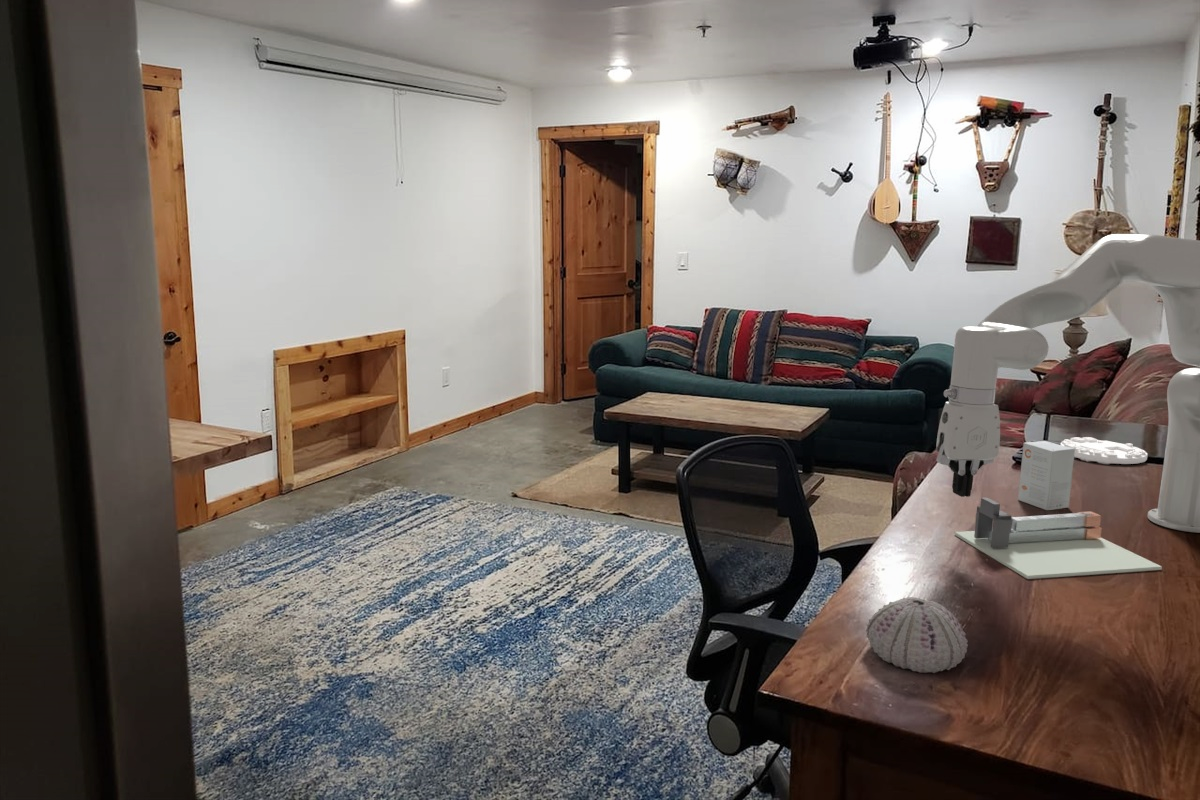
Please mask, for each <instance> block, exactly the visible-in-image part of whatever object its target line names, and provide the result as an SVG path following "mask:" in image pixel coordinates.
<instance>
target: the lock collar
mask: <svg viewBox="0 0 1200 800" xmlns="http://www.w3.org/2000/svg"><path fill="white" fill-rule="evenodd" d="M980 498H981V499H980V505H979V506H977V507H976V514H975V524H974V525H975V526H974V531H975V534H974V537H975V538H976V539H980V538H988V536H989V530H992V539H991V547H992V548H1008V544H1009V534H1010V525H1011V517H1012V515H1010V514H1009V513H1007V512H1005V511H1003V510H1001V509H1000V508H1001V503H999V502H997V501H995V500H993V499H991V498H989V497H980Z"/></svg>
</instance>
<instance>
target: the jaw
mask: <svg viewBox="0 0 1200 800" xmlns="http://www.w3.org/2000/svg"><path fill="white" fill-rule="evenodd" d="M1011 518H1013V519H1012V529H1013V530H1015V531H1022V530H1036V529H1050V528H1064V527H1079V526H1086V527H1090V526H1098V527H1101V521H1102V515H1100V514H1099V513H1096V512H1094V511H1080V512H1079V511H1078V512H1076V513H1075V512H1073V513H1058V514H1057V513H1056V514H1046V515H1045V514H1043V515H1030V516H1027V515H1026V516H1011Z"/></svg>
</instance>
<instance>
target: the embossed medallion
mask: <svg viewBox="0 0 1200 800" xmlns="http://www.w3.org/2000/svg"><path fill="white" fill-rule="evenodd" d="M1059 445H1062V446H1066V447H1069V448H1073V449H1075V453H1074V459H1076V458H1078V459H1080V460H1081V461H1085V462H1096V463H1097V464H1103V465H1110V464H1116V465H1119V464H1121V465H1131V464H1132V465H1133V464H1140V463H1141V464H1142V463H1145V462H1146V461H1147V460H1148V454H1149V453H1148V452H1147V451H1146V450H1144V449H1142V448H1139V447H1138V446H1133V445H1134V444H1133V443H1128V442H1126V443H1120V442H1116V441H1115V442H1114V441H1110V440H1107V439H1106V440H1100V439H1097V438H1095V437H1091V436H1090V437H1089V436H1085V437H1084V436H1083V437H1079V436H1078V437H1077V436H1074V437H1070V439H1066V438H1064V440H1061V441H1060V444H1059Z"/></svg>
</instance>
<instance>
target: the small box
mask: <svg viewBox="0 0 1200 800" xmlns="http://www.w3.org/2000/svg"><path fill="white" fill-rule="evenodd" d="M1022 446H1023V448H1022V457H1021V465H1020V475H1019V487H1018V494H1017V495H1018V496H1017V500H1018V501H1020V502H1023V503H1026V504H1029V505H1031V506H1034V507H1037V508H1040V509H1042V510H1045V511H1054V510H1062V509H1066V508H1067V509H1068V508H1069V507H1070V500H1071V499H1070V498H1071V490H1072V479H1073V471H1074V462H1075V457H1074V453H1075V449H1073V448H1069V447H1066V446H1062V445H1060V444H1058V443H1053V442H1051V441H1047V440H1040V441H1038V440H1037V441H1027V442H1026V441H1025V442H1023V445H1022Z"/></svg>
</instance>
